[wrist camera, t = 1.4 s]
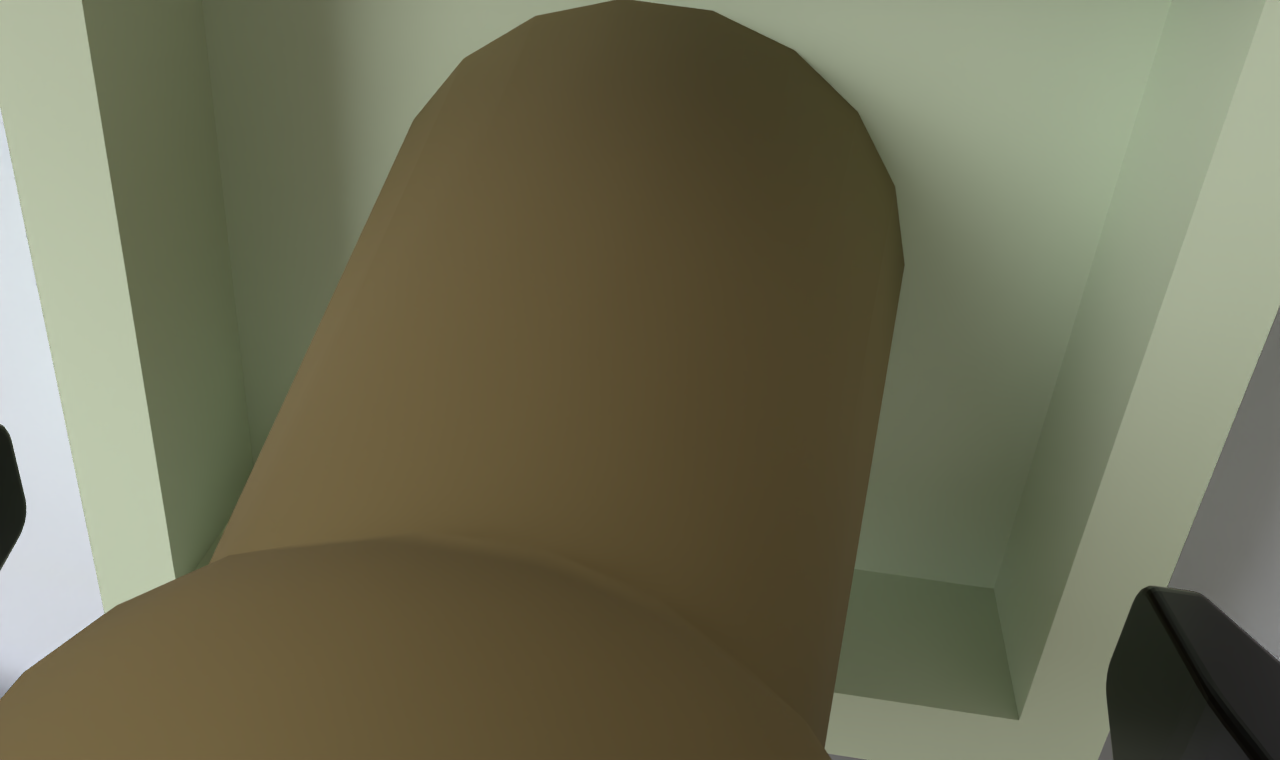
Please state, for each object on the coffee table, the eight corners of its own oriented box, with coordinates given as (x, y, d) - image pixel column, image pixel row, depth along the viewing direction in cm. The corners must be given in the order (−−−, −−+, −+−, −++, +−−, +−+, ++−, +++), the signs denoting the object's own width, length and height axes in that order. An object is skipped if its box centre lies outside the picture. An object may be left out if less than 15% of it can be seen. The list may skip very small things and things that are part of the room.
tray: (1048, 641, 16) (1084, 792, 14) (203, 517, 17) (110, 642, 15) (1653, -1121, 8) (1974, -1428, 6) (-39, -1189, 9) (-326, -1479, 7)
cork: (427, 471, 16) (-151, 1642, 6) (343, 7, 13) (-993, 931, 3) (892, 484, 15) (1017, 1858, 6) (919, -11, 12) (1303, 1157, 2)
